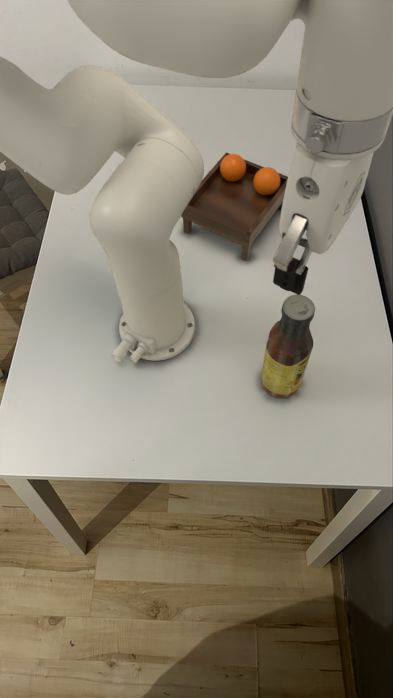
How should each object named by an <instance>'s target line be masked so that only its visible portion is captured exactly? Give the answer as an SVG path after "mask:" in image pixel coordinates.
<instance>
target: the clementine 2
mask: <svg viewBox="0 0 393 698" xmlns="http://www.w3.org/2000/svg"><path fill="white" fill-rule="evenodd" d="M278 173H279V172H278V171H277V170H276V169H274V168H273V167H267V166H266V167H265V168H262V169H260V170H259V171H258V172H257V173H256V174H255V176H254V180H253V184H254V187H255V189H256V191H257V192H258V193H260V194H261V195H271V194H273V193H275V192H276V191H277V189H278V188H279V186H280V176H279V174H278Z"/></svg>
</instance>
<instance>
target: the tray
mask: <svg viewBox="0 0 393 698" xmlns="http://www.w3.org/2000/svg"><path fill="white" fill-rule="evenodd" d="M230 154H231V153H229V152H225V153H224V154H223V155H222V156H221V157H220V159H219V160H218V161H217V162H216V163H215V165H214V166H213V167H212V168H211V169H210V170H209V172H207V174H206V175H205V176H203V178H202V181H201V183H200V185H199V187H198V189H197V190H196V192H195V194H194V195H193V197H192V199H191V200H190V202H189V203H188V205H187V206H186V208H185V210H184V211H183V213H182V215H181V217H180V218H182V226H183V233H184V234H186V235H191V233H192V232H193V224H195V225H198V226H199V227H202V228H204V229H206V230H208V231H211V232H213V233H215V234H216V235H217V234H218V235H220V236H222V237H224V238H226V239H228V240H231V241H233V242H235V243H238V244H239V245H241V256H240V259H241V260H243V261H246V262H247V261H249V259H250V258H251V249H252V244H253V243H254V241H255V240H256V239H257V237H258V236H259V234H260V233H261V232H262V230H263V229H264V227H265V226H266V225H267V223H269V221H270V220H271V218H272V217H273V215H274V214H276V211H277V210H280V211H281V210H282V204H283V199H284V194H285V189H286V184H287V180H288V176H289V175H288V176H287V175H285V174H283V173H280V172H278V174H279V176H280V186H279V188H278V189H277V191H276V192H275V193H273V194H271V195H261V194H260V193H258V192H257V191H256V189H255V187H254V184H253V180H254V176H255V174H256V173H257V172H258V171H259V170H260V169H262V168H265V167H264V166H262V165H260V164H257V163H255V162H252V161H249V160H247V159H245V158H243V159H244V161H245V163H246V172H245V174H244V176H243V177H242V178H241V179H240V180H238V181H234V182H231V181H228V180H226V179H225V178H224V177H223V176H222V174H221V172H220V164H221V162H222V160H223V159H224V158H225V157H226V156H227V155H230Z"/></svg>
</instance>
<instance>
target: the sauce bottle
mask: <svg viewBox="0 0 393 698" xmlns="http://www.w3.org/2000/svg"><path fill="white" fill-rule="evenodd" d="M280 312H281V317H280V319H279V320H277V321H276V322H275V323H274V324H273V326H272V327H271V328H270V331H269V333H268V338H267V341H266V345H265V351H264V356H263V362H262V368H261V375H260V377H261V378H260V381H261V385H262V387H263V389H264V391H265V392H266V393H267V394H269V395H270V396H272V397H274V398H278V399H286V398H290V397H292V396H293V395H295V393H296V392H297V390H299V388H300V387H301V384H302V382H303V380H304V379H303V378H304V375H305V372H306V369H307V367H308V364H309V361H310V357H311V355H312V352H313V348H314V337H313V334H312V331H311V330H310V327H311V322H312V321H313V319H314V317H315V312H316V305H315V303H314V302H313V301H312V299H310V298H309V297H307V296H306V295H303V294H300V295H298V294H292V295H289V296H287V297H285V299H284V300H283V302H282V305H281V311H280Z"/></svg>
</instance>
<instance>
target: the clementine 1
mask: <svg viewBox="0 0 393 698" xmlns="http://www.w3.org/2000/svg"><path fill="white" fill-rule="evenodd" d="M229 154H230V155H227V156H226V157H225V158H224V159H223V160H222V162H221V164H220V172H221V174H222V176H223V177H224V178H225V179H226V180H228V181H231V182H234V181H238V180H240V179H241V178H242V177H243V176H244V174H245V172H246V163H245V161H244V159H245V158H243V156H241V155H240V154H237V153H229Z"/></svg>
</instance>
